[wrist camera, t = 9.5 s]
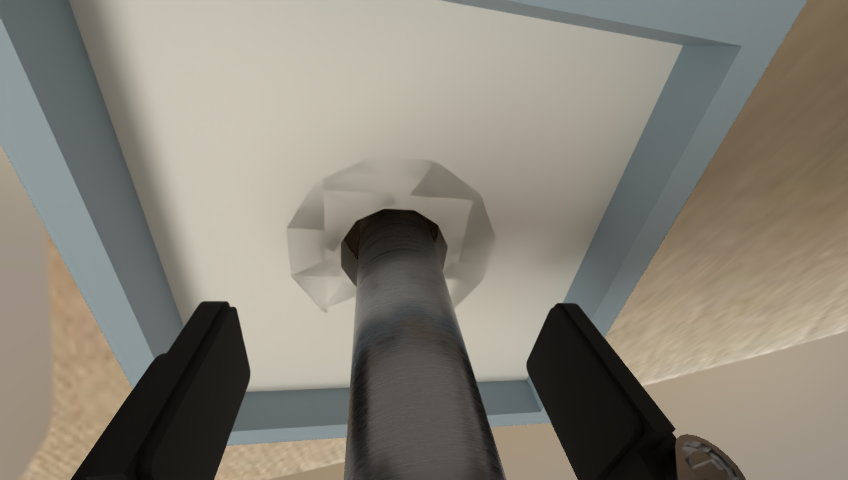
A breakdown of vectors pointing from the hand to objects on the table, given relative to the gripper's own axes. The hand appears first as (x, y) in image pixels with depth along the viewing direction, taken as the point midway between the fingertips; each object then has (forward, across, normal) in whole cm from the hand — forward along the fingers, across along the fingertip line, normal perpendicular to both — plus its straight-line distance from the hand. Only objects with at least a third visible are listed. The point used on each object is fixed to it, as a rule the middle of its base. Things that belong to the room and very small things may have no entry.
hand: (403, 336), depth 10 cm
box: (+6, 0, 0) cm, 6 cm away
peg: (+6, 0, 0) cm, 6 cm away
